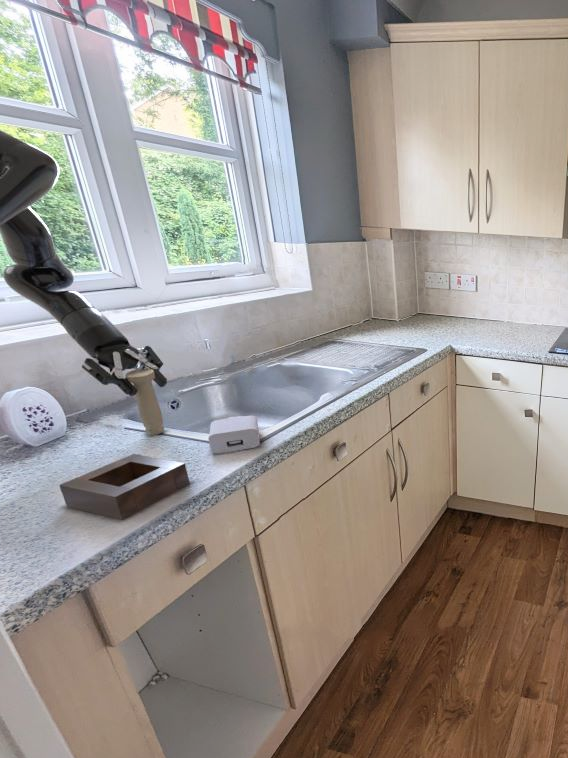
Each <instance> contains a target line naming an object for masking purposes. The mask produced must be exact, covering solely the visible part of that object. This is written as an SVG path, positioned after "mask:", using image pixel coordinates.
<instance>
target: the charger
mask: <svg viewBox="0 0 568 758" xmlns="http://www.w3.org/2000/svg"><path fill="white" fill-rule="evenodd" d="M207 439H208V444H209V448H210V452H211V453H212V454H226V453H232V452H238V451H243V450H249V449H254V448H257V447H259V446H260V444H261V443H260V441H261V440H260V428H259V422H258V418H257V416H255V415H244V416H242V415H237V416H229V417H227V418H220V419H215V420H213V421H211V422H210V427H209V432H208V437H207Z"/></svg>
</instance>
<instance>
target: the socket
mask: <svg viewBox="0 0 568 758" xmlns="http://www.w3.org/2000/svg"><path fill="white" fill-rule="evenodd" d="M190 484H191V482H190V477H189V474H188V469H187V466H186V463H185V462H181V461H174V460H169V459H164V458H158V457H154V456H149V455H143V454H136V453H132V454H129V455H127V456H125V457H123V458H120V459H118V460H115V461H113V462H112V463H108V464H106V465H103V466H101V467H99V468H97V469H93V470H92V471H89V472H87V473H85V474H83V475H82V474H81V475H79V476H77V477H75V478H72V479H70V480H68V481H65V482H62V483H60V484H59V485H58V487H59V489H60V491H61V494H62V497H63V499H64V503H65V505H66V507H67V508H70V509H74V510H78V511H83V512H86V513H91V514H95V515H100V516H105V517H109V518H112V519H113V518H114V519H117V520H122V521H123V520H125V519H126V518H128V517H130V516H132V515H134V514H136V513H137V512H139V511H142V510H143V509H145V508H148V506H151V505H152V504H154V503H156V502H159V501H160V500H162V499H165V497H168V496H170V495H172V494H173V493H175V492H177V491H179V490H181V489H183V488H184V487H187V486H188V485H190Z"/></svg>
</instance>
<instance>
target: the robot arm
mask: <svg viewBox="0 0 568 758" xmlns="http://www.w3.org/2000/svg"><path fill="white" fill-rule="evenodd" d="M59 175H60V166H59V164H58V162H57V161H56V159H55V158H54V157H53V156H51V155H50V154H48V153H47V152H45V151H43V150H42V149H40V148H38V147H36V146H35V145H32V144H30V143H28V142H26V141H23V140H21V139H20V138H18V137H15V136H13V135H11V134H9V133H8V132H6V131H3V130H1V129H0V236H1V239H2V242H3V244H4V247H5V249H6V252H7V254H8V256H9V258H10V259H11V261H12V262H13V263H14V264H11V265H9V266H7V267H5V268H4V270H3V273H2V277H3V280H4V282H5V283H6V284H7V286H8V287H9V288H10V289H11V290H12V291H13V292H15V293H16V294H18V295H20V296H21V297H22V298H25V299H26V300H28V301H29V302H32V303H33V304H35V305H36V306H38V307H40V308H41V309H43V310H45V311H46V312H47V313H49V314H50V315H51V316H52V318H54V319H55V320H56V322H58V324H59V325H61V326H62V327H63V329H64V330H65V332H66V333H67V334H68V335H69V336H70V337H71V339H73V340H74V341H75V342H76V343H77V344H78V345H79V346H80V347H81V348H82V349H83V350H84V351H85V353H86V354H88V355H89V356H90V357H91V358H90V357H86V358H85V360H84V361H83V363H82V365H81V368H82V369H83V370H84V371H85V372H86V373H88V374H89V375H90V376H92V377H93V378H94V379H95V380H96V381H98V382H99V383H100V384H102V385H104V386H108V385H109V384H110V385H111V384H113V385H115V386H117V387H118V388H119V389H120V390H121V391H122V392H123V393H124V394H126V395H129V396H130V397H134V396H136V393H137V391H138V390H137V389H136V388H135V387H134V385H133V383H131V382H129V381H128V380H127V379H126V377H124V373H123V372H124V371H126V370H132V369H133V370H139V369H152V370H154V373H155V378H154V379H153V380H152V381H153V382H155V384H156V385H157V386H158V387H159V388H164V387H165V386H166V385H167V383H168V379H167V377H166V376H165V375H164V374H162V372H161V371H160V370H161V368H162V367H163V365H164V362H163V361H162V360H161V358H160V357H159V356H158V355H157V353H156V352H155V351H154V350H153V348H152V347H151V346H150V345H145V346H144V347H142V348H136V347H135V346H133V345H131V343H130V342H129V339H127V337H126V336H125V335H124V334H123V333H122V332H121V331H120V330H119V329H118V328H117V327H116V326H115V324H113V323H112V322H111V321H110V320H109V319H108V318H107V316H105V315H104V314H102V313H101V312H100V311H99V309H97V308H96V307H95V306H94V305H93V303H91V302H90V301H89V300H88V299H87V298H86V297H85V296H84V295H83V294H82V293H80V292H79V291H75V290H65V289H67V288H69V287H71V286H72V285H73V283H74V281H75V278H74V274H73V272H72V271H71V269H70V268H69V267H68V266H67V265H66V264H65V263H64V262H63V261H62V259H61V258H60V257H59V255H58V253H57V251H56V248H55V243H54V240H53V236H52V234H51V231H50V229H49V228H48V226H47V225H46V223H45V222H44V220H43V219H42V218H41V217H40V216H39V215H38V214H37V213H36V211H35V210H33V209H32V207H31V206H32V205H34V204H35V203H37V202H38V201H40V200H41V199H42V198H43V197H45V196H46V195H47V194H48V193H49V192H50V191H51V190H52V189H53V188H54V186H55V185H56V183H57V181H58V178H59ZM139 363H140V364H139ZM105 368H107V370H108V371H107V370H106V369H105Z"/></svg>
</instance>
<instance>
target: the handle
mask: <svg viewBox="0 0 568 758" xmlns="http://www.w3.org/2000/svg"><path fill="white" fill-rule="evenodd" d="M124 377H125V378H126V379H127V380H128V381H129V382H130V383H131V384H132V385H133V386H134V387H135V388H136V389H137V390H138V391H137V393H136V395H135V399H136V403H137V409H138V412H139V416H140V419H141V423H142V425H143V427H144V429H145V432H146V434H147V435H150V436H155V435H160V434H161V433H164V431H165V426H163V425H164V421H163V414H162V410H161V406H160V404H159V401H158V397H157V394H156V392H155V388H154V385H153V381H154V380H153V379H154V378H155V373H154V370H152V369H150V368H148V369H139V370H135V369H133V370H131V371H128V372H126V373H125V375H124Z"/></svg>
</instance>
